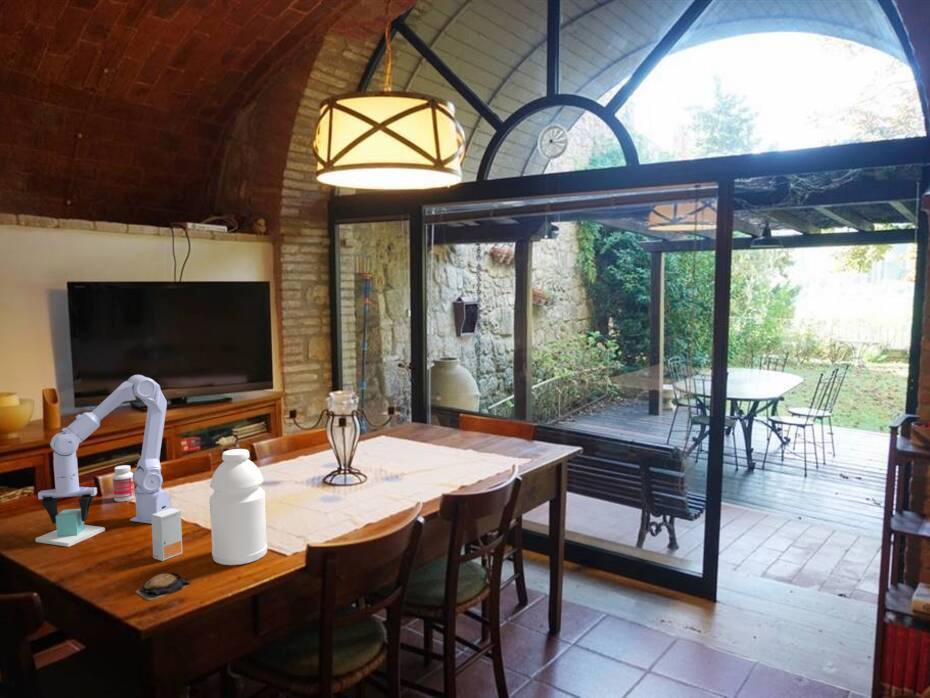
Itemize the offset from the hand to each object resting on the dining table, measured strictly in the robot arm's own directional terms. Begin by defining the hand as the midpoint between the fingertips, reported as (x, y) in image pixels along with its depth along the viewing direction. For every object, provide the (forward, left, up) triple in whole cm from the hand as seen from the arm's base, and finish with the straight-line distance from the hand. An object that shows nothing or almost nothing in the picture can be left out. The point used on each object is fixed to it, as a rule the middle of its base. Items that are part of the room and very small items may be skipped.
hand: (69, 521), depth 185 cm
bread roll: (-49, +18, -5) cm, 53 cm away
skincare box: (-37, +3, -5) cm, 37 cm away
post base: (0, 0, -4) cm, 4 cm away
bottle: (-55, -3, -5) cm, 55 cm away
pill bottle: (+11, -30, -5) cm, 32 cm away
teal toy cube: (0, 0, -3) cm, 3 cm away
